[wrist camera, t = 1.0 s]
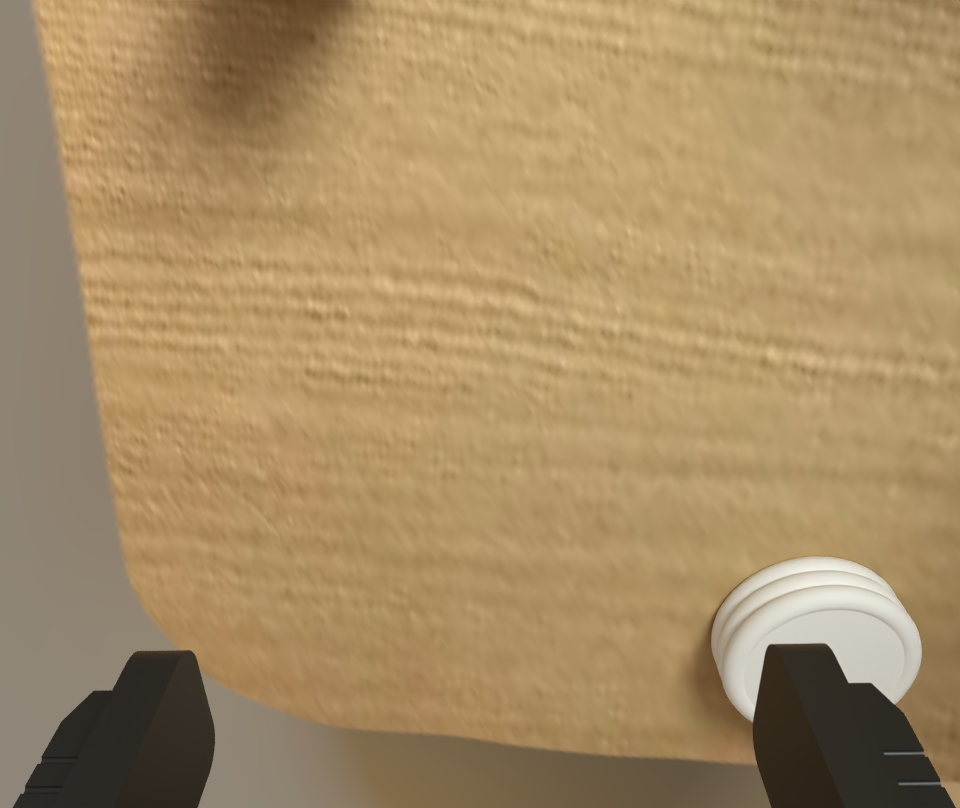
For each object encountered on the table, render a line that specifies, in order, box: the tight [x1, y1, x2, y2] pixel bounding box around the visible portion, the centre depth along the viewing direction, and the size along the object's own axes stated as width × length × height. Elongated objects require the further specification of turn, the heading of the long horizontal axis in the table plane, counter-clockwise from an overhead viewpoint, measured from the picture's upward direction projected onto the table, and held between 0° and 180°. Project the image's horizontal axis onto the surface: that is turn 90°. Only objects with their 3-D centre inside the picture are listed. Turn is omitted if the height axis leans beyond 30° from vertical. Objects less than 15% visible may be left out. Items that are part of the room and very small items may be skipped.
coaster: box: [711, 556, 922, 723], centre depth 43 cm, size 10×10×4 cm
